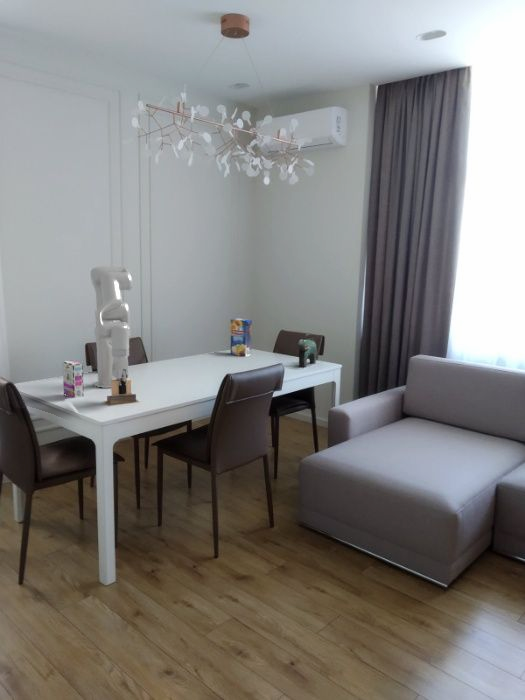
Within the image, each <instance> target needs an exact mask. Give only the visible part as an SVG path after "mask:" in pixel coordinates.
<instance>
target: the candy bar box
mask: <svg viewBox="0 0 525 700" xmlns="http://www.w3.org/2000/svg"><path fill="white" fill-rule="evenodd" d="M83 366H84V364H83V363H82V362H78V361H76V360H75V361H74V360H73V359H72V360H65V361H62V380H63V381H62V382H63V395H64V394H66V395H68V396H67V397H71V398H73V399H74V398H82V397H84V367H83Z"/></svg>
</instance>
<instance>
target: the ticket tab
mask: <svg viewBox="0 0 525 700" xmlns="http://www.w3.org/2000/svg"><path fill="white" fill-rule="evenodd" d="M121 381H122V380H121ZM110 389H111V390H110V391H111V396H112V397H114V396H122V395H131V393H132V379H130V378H129V377H128V378H127V382H126V394H119V379H118V380H111V388H110Z"/></svg>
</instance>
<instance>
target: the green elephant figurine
mask: <svg viewBox="0 0 525 700" xmlns="http://www.w3.org/2000/svg"><path fill="white" fill-rule="evenodd" d="M307 336H308V337H309V336H310V334H309V333H306V334H305V337H304V338H303V339H300V340H299V341H298V343H297V346H298V347H297V348H298V367H299V368H301V369H302V368H303V369H304V368H307V361H308V358H309V364H312V365H314V364H316V361H317V356H318V349H317V344H316V342H315V339H314V338H313V337H312V338H308V339H307Z"/></svg>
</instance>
